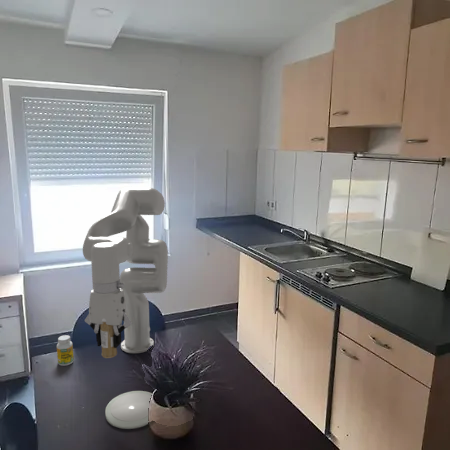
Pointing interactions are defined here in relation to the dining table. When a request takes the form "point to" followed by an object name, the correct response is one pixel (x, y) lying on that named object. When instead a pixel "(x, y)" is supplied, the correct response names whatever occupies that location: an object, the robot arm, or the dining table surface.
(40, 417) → the dining table surface
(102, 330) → the sprinkles bottle
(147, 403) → the dish
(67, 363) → the supplement bottle
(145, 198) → the robot arm
